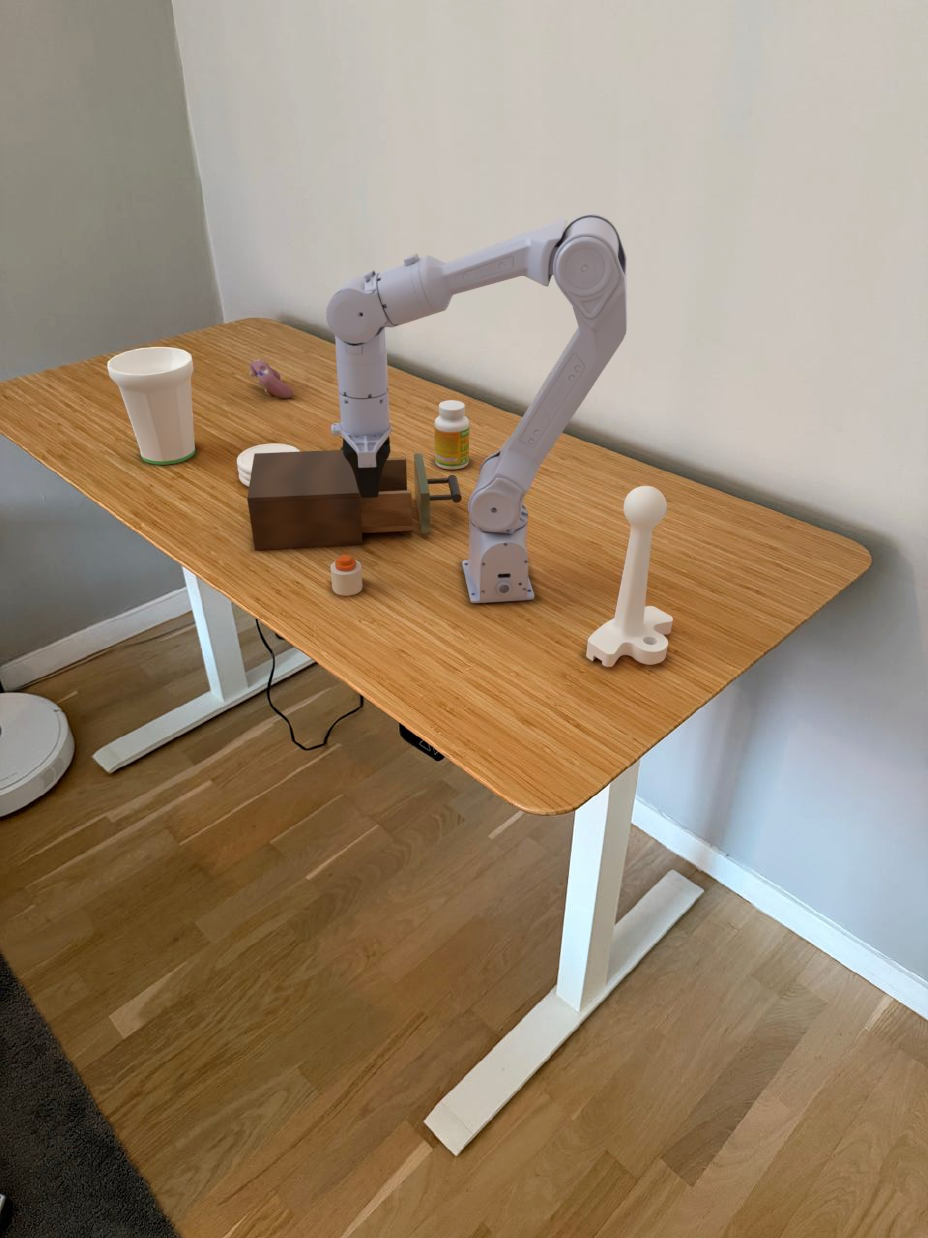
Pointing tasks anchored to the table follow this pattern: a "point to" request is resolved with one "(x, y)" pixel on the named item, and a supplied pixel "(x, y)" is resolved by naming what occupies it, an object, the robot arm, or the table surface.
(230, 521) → the table surface
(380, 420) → the robot arm
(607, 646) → the joystick
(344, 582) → the glue bottle
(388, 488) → the drawer
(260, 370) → the pink animal figurine
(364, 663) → the table surface
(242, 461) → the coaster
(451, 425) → the supplement bottle
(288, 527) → the cabinet
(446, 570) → the table surface
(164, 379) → the cup
